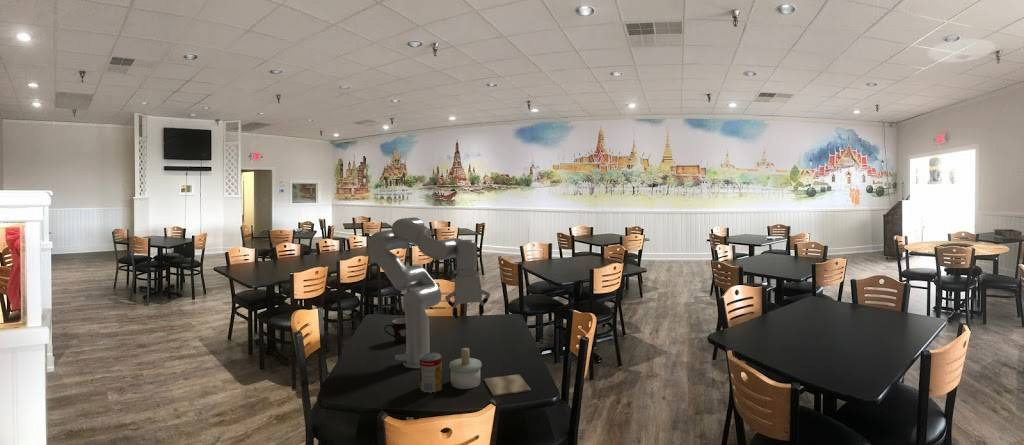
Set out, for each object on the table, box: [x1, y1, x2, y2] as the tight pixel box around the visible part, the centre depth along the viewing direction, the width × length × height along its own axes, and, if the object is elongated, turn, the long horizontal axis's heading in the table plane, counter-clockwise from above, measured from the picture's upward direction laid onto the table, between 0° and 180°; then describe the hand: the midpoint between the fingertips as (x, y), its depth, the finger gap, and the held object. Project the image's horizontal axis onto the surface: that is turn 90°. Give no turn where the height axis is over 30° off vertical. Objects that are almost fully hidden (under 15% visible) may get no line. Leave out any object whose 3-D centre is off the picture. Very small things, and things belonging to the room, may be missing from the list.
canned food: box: [419, 352, 443, 394], centre depth 173 cm, size 8×8×12 cm
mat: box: [483, 373, 532, 397], centre depth 176 cm, size 14×14×1 cm
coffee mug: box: [383, 317, 406, 345], centre depth 224 cm, size 12×9×10 cm
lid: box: [448, 347, 483, 373], centre depth 178 cm, size 12×12×6 cm
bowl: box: [450, 368, 481, 390], centre depth 178 cm, size 11×11×6 cm
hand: (468, 316), depth 182 cm, fingers open, 9 cm apart
